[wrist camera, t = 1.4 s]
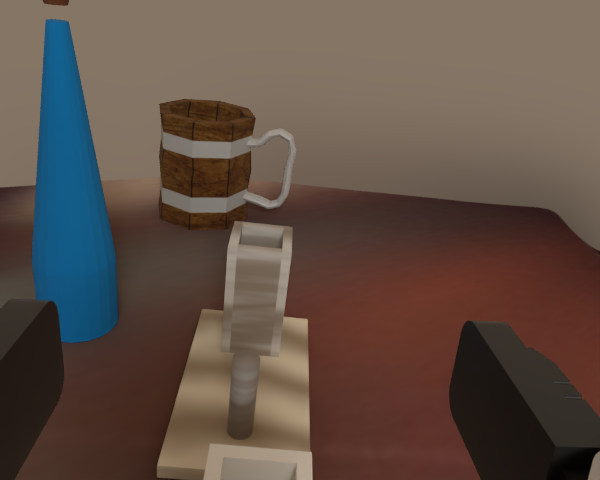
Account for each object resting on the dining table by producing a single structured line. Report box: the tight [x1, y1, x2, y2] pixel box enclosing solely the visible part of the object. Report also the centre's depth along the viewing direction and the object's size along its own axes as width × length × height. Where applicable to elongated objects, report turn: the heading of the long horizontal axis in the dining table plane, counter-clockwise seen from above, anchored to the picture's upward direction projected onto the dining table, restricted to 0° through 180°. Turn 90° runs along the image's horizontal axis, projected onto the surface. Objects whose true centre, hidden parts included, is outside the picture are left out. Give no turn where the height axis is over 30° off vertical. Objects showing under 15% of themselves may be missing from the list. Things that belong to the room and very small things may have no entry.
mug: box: [159, 99, 296, 230], centre depth 78 cm, size 20×14×15 cm
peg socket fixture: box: [157, 221, 310, 480], centre depth 46 cm, size 20×11×12 cm, turn 0°
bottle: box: [32, 0, 118, 342], centre depth 48 cm, size 7×7×30 cm
